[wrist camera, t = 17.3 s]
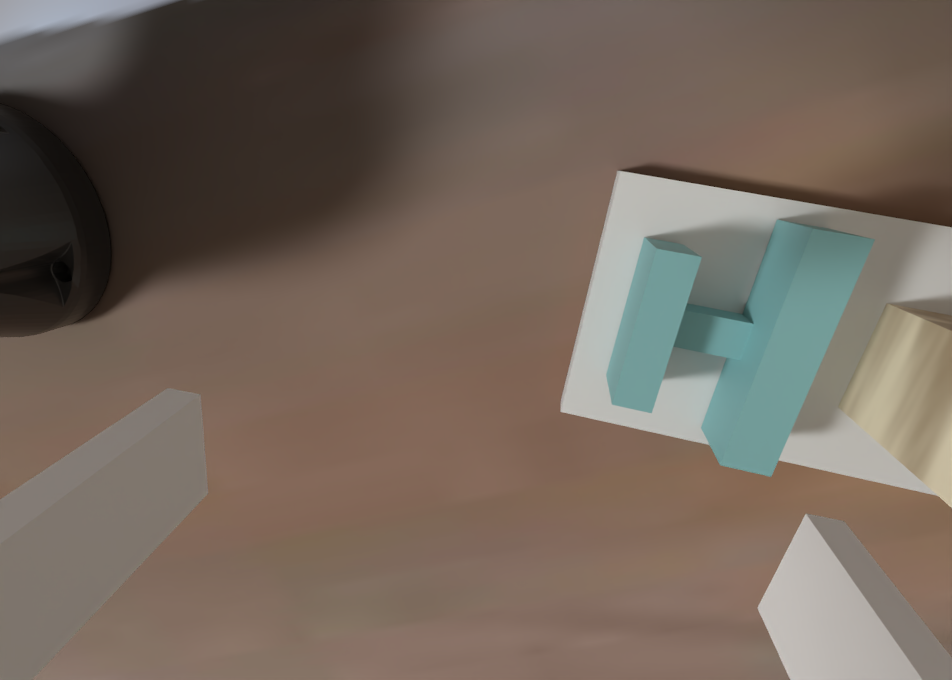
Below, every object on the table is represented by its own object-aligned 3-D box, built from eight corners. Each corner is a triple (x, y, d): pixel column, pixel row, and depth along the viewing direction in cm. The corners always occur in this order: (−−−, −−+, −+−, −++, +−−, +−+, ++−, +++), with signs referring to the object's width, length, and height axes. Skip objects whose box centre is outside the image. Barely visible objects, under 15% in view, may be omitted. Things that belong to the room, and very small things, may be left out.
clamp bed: (560, 400, 32) (559, 445, 27) (617, 170, 27) (629, 171, 22) (986, 494, 29) (1076, 564, 24) (1134, 258, 24) (1286, 283, 19)
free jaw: (597, 404, 30) (602, 438, 26) (654, 198, 26) (669, 203, 22) (744, 437, 29) (771, 476, 25) (829, 228, 25) (875, 239, 21)
